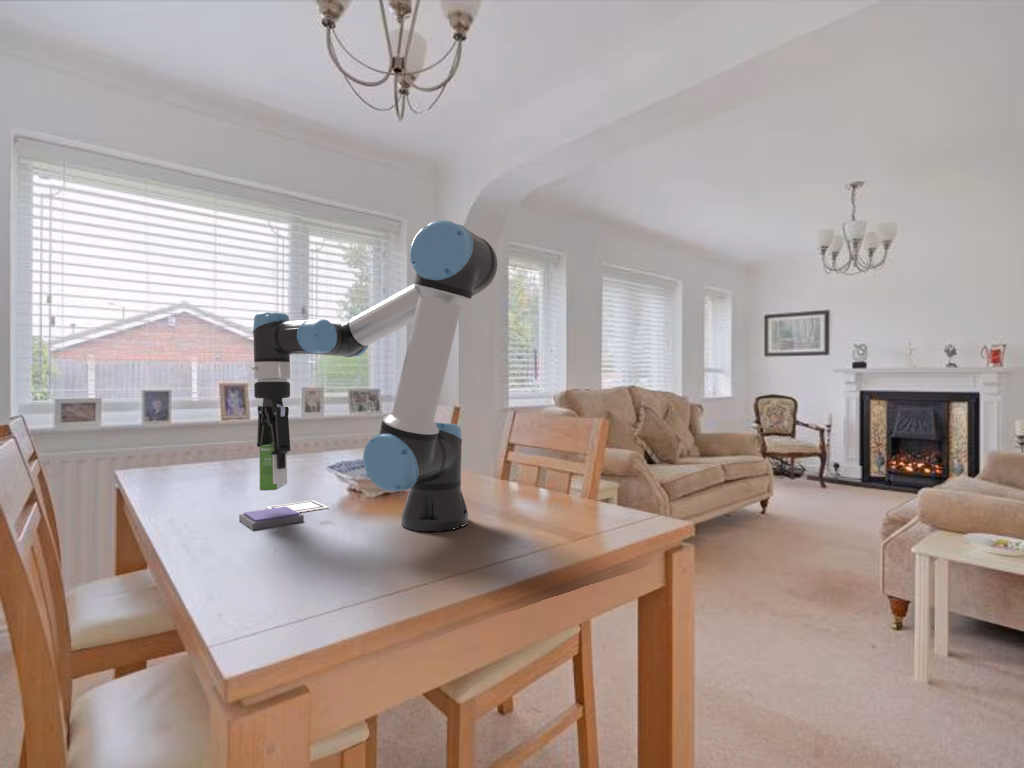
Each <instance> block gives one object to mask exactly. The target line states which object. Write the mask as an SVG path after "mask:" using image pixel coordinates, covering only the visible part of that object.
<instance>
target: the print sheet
mask: <svg viewBox="0 0 1024 768" xmlns="http://www.w3.org/2000/svg"><path fill="white" fill-rule="evenodd" d="M279 507H288V508H290V509H292V510H294V511H296V512H298V513H300V512H302V513H307V511H309V512H314V511H313V510H315V511H320V510H319V509H322V510H326V508H328V509H329V508H330V507H329V506H327V505H326V504H322V503H320V502H319V501H316V500H313V499H312V500H306V501H299V502H292V503H284V504H279V505H270V506H265V509H272V508H279ZM300 514H301V513H300Z"/></svg>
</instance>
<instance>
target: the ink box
mask: <svg viewBox="0 0 1024 768" xmlns="http://www.w3.org/2000/svg"><path fill="white" fill-rule="evenodd" d="M258 448H259V449H258V450H259V451H258V452H259V455H258V457H259V460H258V461H259V465H258V466H259V491H263V492H264V491H276V490H279V489H281V488H283V487H284V486H286V485H287V484H288V482H287V483H279V484H273V455H271V452H272V451H274V446H273V443H271V444H267V445H264V446H260V447H258ZM287 465H288V462H287V454H286V471H287V472H288V466H287Z"/></svg>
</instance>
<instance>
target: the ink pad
mask: <svg viewBox="0 0 1024 768" xmlns="http://www.w3.org/2000/svg"><path fill="white" fill-rule="evenodd" d="M238 518H239V519H238V520H239V522H240V521H241V522H240V523H242V524H243V523H244V524H243V525H245V526H246V527H247V526H248V527H247V528H249V529H250V528H251V529H250V530H252V531H255V529H257V530H261V529H262V530H263V529H267V528H268V529H269V528H274V527H279V525H280V526H285V524H286V525H291V523H292V524H298V523H303V521H304V520H305V519H304V518H305V515H304V514H301V513H298V512H296V511H294V510H292V509H290V508H288V507H279V508H272V509H267V508H265V509H259V510H258V509H257V510H253V511H252V510H251V511H246V512H243V513H240V514H239V515H238ZM297 522H298V523H297ZM304 522H305V521H304Z"/></svg>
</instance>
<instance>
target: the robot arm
mask: <svg viewBox="0 0 1024 768" xmlns="http://www.w3.org/2000/svg"><path fill="white" fill-rule="evenodd" d="M494 249H495V248H493V246H492V245H491V244H490V243H489V242H488V241H487V240H486V239H484V238H482V237H481V236H478V235H476V234H475V233H473V232H472V231H471V230H469V229H468V228H467V227H465V226H464V225H461V224H458V223H455V222H453V221H450V220H444V219H442V220H434V221H432V222H430V223H428V224H426V225H425V226H424V227H422V228H421V229H420V230H419V231H418V232H417V233H416V235H415V236H414V238H413V240H412V242H411V244H410V250H409V258H410V259H409V260H410V263H411V264H412V268H413V269H414V271H415V272H416V273H415V277H414V282H413V284H411V285H409V286H407V287H405V288H404V289H402V290H400V291H397V293H394V294H393V295H391V296H389V297H388V298H386V299H384V300H382V301H380V302H378V303H377V304H375V305H373V306H371V307H370V308H368V309H366V310H364V311H362V312H361V313H358V314H357V315H355V316H353V317H351V318H349V319H348V320H346V321H344V322H342V323H339V324H338V323H331V322H330V321H329V320H327V319H324V318H322V319H320V318H319V319H318V318H310V319H300V320H299V319H298V320H290V317H289V314H286V313H282V312H275V311H274V312H273V311H271V312H270V311H269V312H265V311H263V312H258V313H256V314H255V315H254V318H253V330H252V334H253V336H252V337H253V358H254V359H253V365H254V366H251V370H252V371H254V373H253V374H254V375H253V377H254V380H257V382H255V383H254V384H253V387H254V388H253V389H254V390H253V391H254V392H253V393H254V395H253V396H254V398H255V399H259V400H260V399H261V400H262V405H257V438H256V439H257V442H256V447H257V448H259V447H260V446H264V445H267V444H271V443H273V446H274V451H272V452H271V455H273V484H279V483H287V484H288V470H287V471H286V455H287V454H288V452H291V439H290V438H291V437H290V425H289V424H290V423H289V413H290V412H289V411H290V410H289V407H288V406H284V403H283V399H289V398H290V397H291V383H290V381H288V380H290V379H291V362H290V361H291V360H290V358H291V355H317V356H318V355H322V356H334V357H335V356H337V357H345V358H352V357H359V356H362V355H363V354H364V353H366V351H367V350H368V347H369V345H371V344H374V343H375V342H377V341H379V340H381V339H384V338H385V337H387V336H389V335H391V334H393V333H395V332H397V331H399V330H400V329H402V328H404V327H406V326H408V325H410V324H412V326H411V330H410V334H409V339H408V341H407V347H406V351H405V355H404V360H403V363H402V364H403V365H402V368H401V369H402V370H401V372H400V373H401V374H400V376H399V382H398V385H397V390H396V395H395V399H394V403H393V407H392V410H391V412H390V413H389V414H387V415H385V416H384V417H383V418H382V421H381V425H380V429H379V433H378V434H376V435H375V436H374V437H373V438H371V439H370V440H369V441H368V442H367V444H366V445H365V447H364V451H363V456H362V457H363V459H362V461H363V468H364V470H365V474H367V475H368V477H369V479H370V482H372V483H373V484H374V485H375V486H376V487H377V488H379V489H381V490H383V491H386V492H390V493H391V492H399V491H407V490H409V491H408V494H407V496H406V499H405V502H404V503H405V504H404V505H403V509H402V512H401V518H400V519H401V522H400V523H401V526H402V527H403V528H405V529H408V530H411V531H417V532H427V531H436V532H442V531H441V530H448V531H450V530H449V529H453V528H457V527H460V526H462V525H464V524H466V523H467V522H468V523H469V511H468V508H467V505H466V502H465V499H464V495H463V491H462V484H461V483H462V443H463V438H462V429H461V427H460V426H459V425H458V424H455V423H445V422H435V417H436V414H437V409H438V405H439V400H440V397H441V393H442V388H443V384H444V380H445V376H446V371H447V368H448V363H449V360H450V355H451V351H452V347H453V342H454V338H455V335H456V329H457V326H458V322H459V319H460V313H461V310H462V308H463V306H465V305H466V304H468V303H469V302H471V300H472V297H474V296H475V295H477V294H479V293H481V292H482V291H484V290H485V289H487V288H488V287H489V285H490V284H492V282H493V281H494V279H495V277H496V274H497V271H498V257H497V253H496V252H495V250H494Z"/></svg>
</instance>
